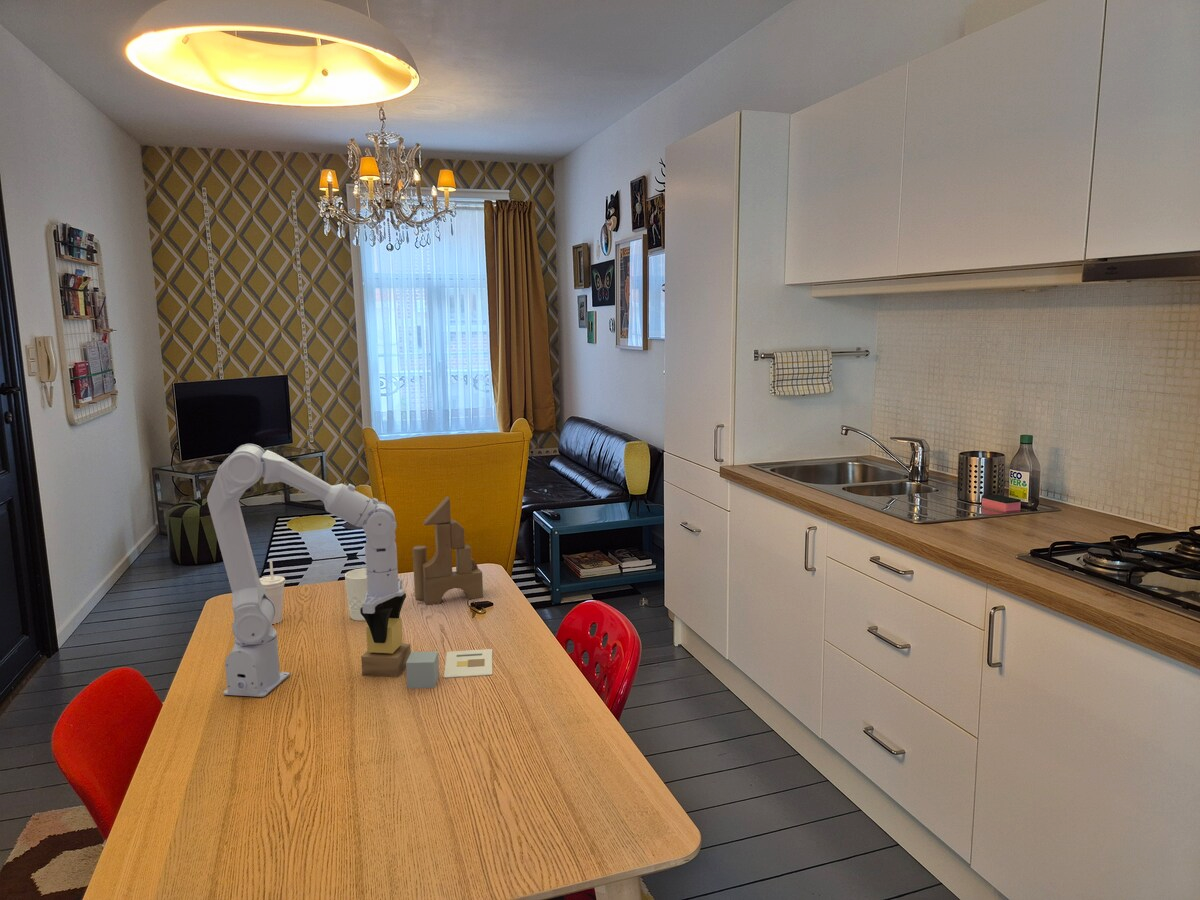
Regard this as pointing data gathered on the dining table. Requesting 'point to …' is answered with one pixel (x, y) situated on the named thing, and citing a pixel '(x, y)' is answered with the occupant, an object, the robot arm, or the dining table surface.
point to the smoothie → (274, 592)
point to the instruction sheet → (468, 663)
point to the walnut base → (386, 662)
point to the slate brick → (422, 670)
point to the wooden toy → (445, 561)
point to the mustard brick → (392, 638)
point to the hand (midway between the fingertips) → (385, 636)
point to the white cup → (356, 591)
